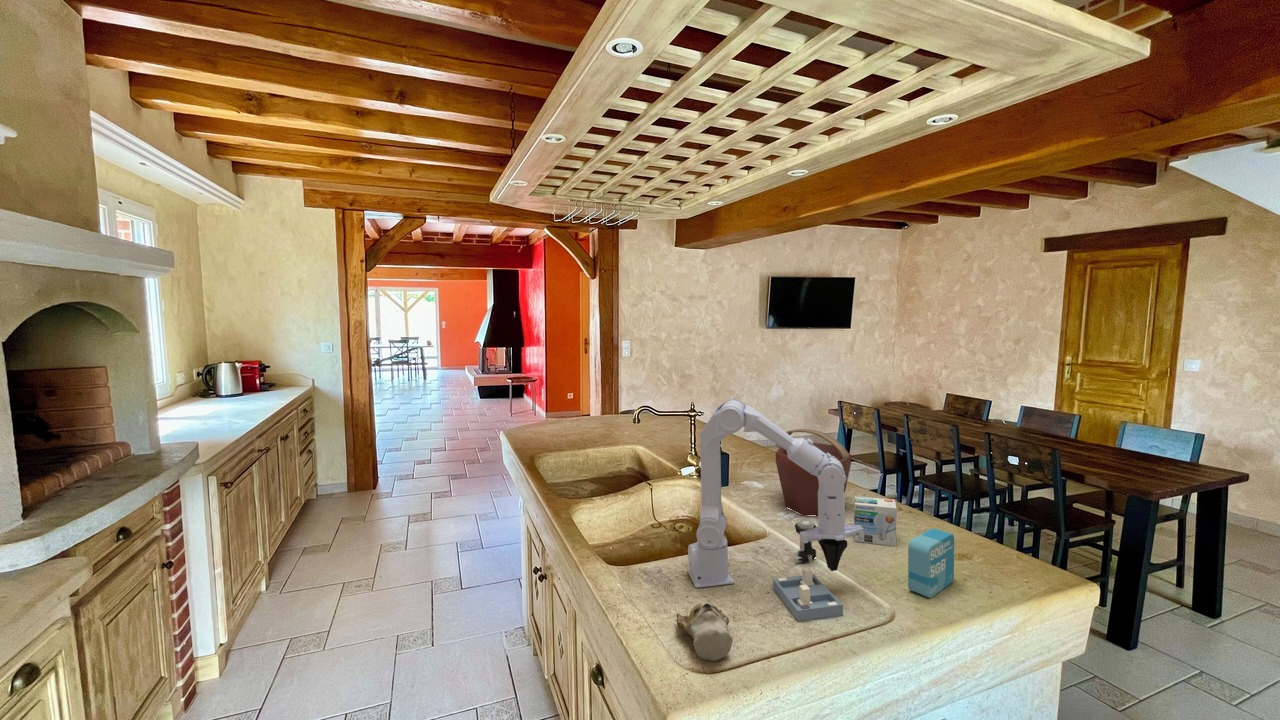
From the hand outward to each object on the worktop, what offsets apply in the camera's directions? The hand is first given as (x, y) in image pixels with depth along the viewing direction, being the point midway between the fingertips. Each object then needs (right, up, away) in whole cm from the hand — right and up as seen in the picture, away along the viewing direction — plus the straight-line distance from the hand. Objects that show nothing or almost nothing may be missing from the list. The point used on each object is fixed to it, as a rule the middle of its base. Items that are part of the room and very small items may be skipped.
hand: (832, 568), depth 119 cm
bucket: (+12, 0, +49) cm, 51 cm away
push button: (-2, -4, +14) cm, 15 cm away
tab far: (-6, -4, 0) cm, 7 cm away
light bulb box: (+21, -2, +25) cm, 32 cm away
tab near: (-9, -5, -8) cm, 13 cm away
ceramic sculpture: (-31, -8, -17) cm, 36 cm away
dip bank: (-7, -6, -4) cm, 10 cm away
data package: (+23, -4, 0) cm, 23 cm away
